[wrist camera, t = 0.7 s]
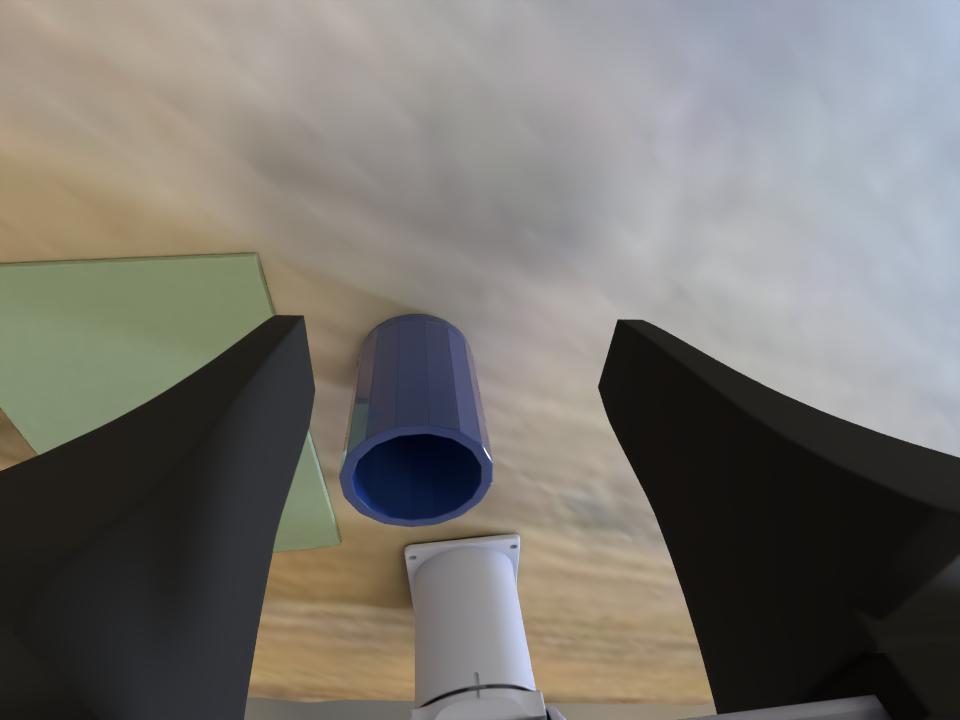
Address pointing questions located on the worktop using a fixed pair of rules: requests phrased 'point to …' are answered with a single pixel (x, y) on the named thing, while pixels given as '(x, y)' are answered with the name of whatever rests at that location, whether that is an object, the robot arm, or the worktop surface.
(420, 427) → the blue cup
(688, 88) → the worktop surface
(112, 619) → the robot arm
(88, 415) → the sage mat
